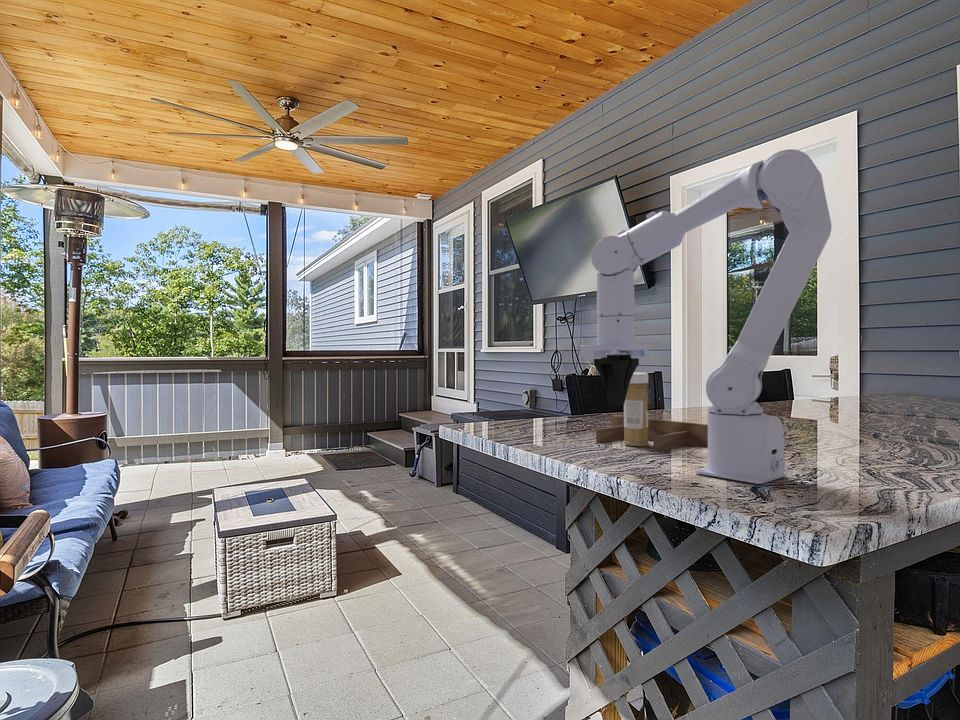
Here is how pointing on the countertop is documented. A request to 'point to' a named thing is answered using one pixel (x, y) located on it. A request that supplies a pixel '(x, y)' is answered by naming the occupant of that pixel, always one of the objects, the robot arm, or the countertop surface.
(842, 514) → the countertop surface
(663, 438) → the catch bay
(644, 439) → the sprinkles bottle
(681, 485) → the countertop surface
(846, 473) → the countertop surface
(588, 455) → the countertop surface
